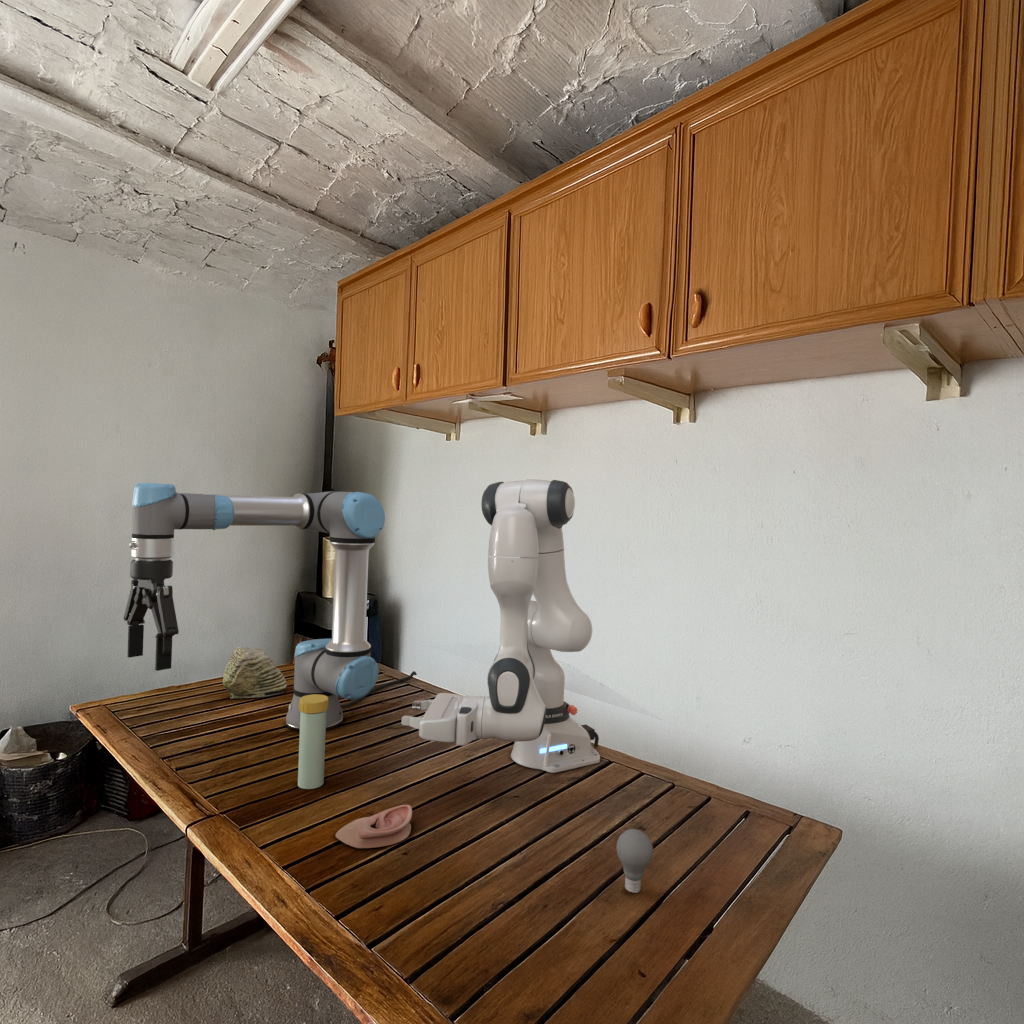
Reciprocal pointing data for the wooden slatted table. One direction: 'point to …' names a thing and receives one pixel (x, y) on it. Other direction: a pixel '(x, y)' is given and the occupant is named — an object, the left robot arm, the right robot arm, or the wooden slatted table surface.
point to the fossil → (252, 674)
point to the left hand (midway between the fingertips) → (148, 662)
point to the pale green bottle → (311, 750)
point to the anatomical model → (378, 828)
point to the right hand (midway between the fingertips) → (407, 712)
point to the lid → (313, 703)
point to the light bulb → (634, 857)
